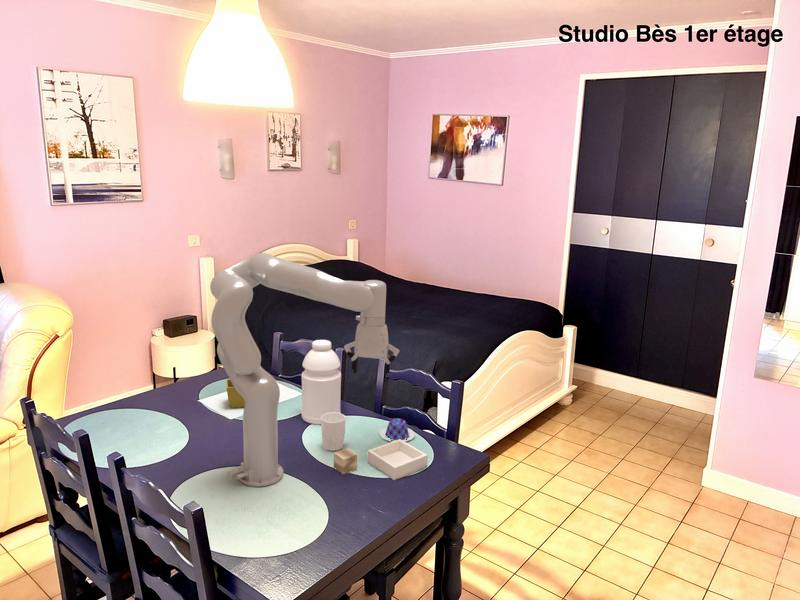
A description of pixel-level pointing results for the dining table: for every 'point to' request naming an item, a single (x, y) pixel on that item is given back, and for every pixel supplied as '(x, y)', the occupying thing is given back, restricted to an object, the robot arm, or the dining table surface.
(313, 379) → the white bottle
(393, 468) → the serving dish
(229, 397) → the flower pot
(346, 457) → the beech cube
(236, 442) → the dining table surface
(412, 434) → the pudding
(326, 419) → the white cup
